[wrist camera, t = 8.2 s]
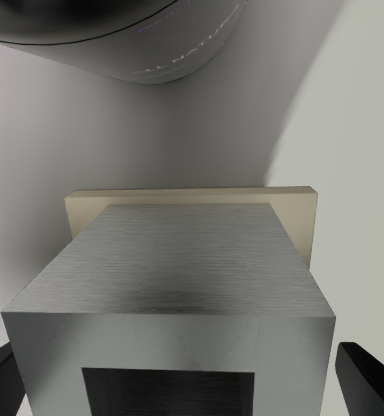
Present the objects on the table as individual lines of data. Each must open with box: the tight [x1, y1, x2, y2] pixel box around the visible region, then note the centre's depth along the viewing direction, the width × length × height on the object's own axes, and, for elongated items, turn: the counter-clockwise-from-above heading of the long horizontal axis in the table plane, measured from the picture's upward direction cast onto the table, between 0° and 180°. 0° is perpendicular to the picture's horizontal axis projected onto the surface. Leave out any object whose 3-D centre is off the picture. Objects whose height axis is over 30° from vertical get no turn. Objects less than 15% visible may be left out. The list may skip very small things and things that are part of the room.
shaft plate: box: [64, 186, 318, 269], centre depth 11 cm, size 7×10×5 cm
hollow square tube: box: [1, 203, 336, 416], centre depth 10 cm, size 6×6×6 cm
